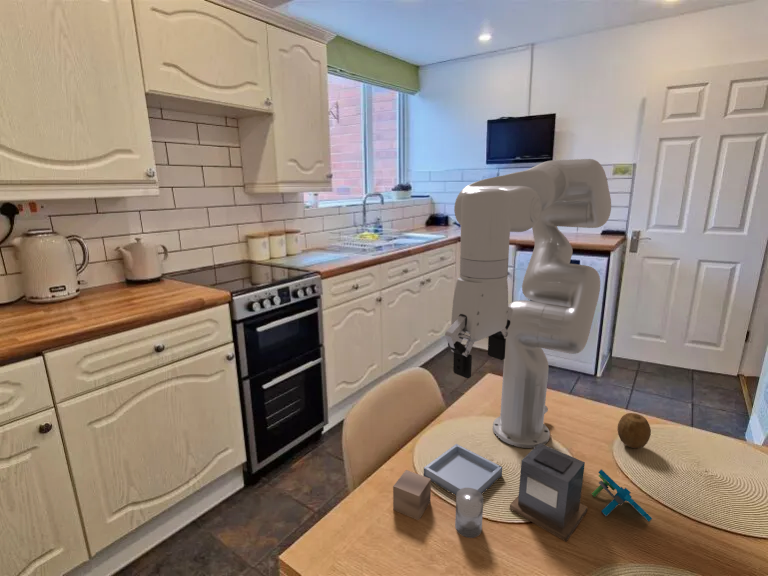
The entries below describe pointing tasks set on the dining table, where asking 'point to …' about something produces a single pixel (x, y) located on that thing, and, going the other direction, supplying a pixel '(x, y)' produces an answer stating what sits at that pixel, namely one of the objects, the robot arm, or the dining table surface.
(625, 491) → the blue green-pegged part
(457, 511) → the metal cylinder
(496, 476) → the tray
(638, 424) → the fruit
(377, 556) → the dining table surface
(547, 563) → the dining table surface
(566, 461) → the box with rectangular openings
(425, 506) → the block
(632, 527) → the dining table surface
